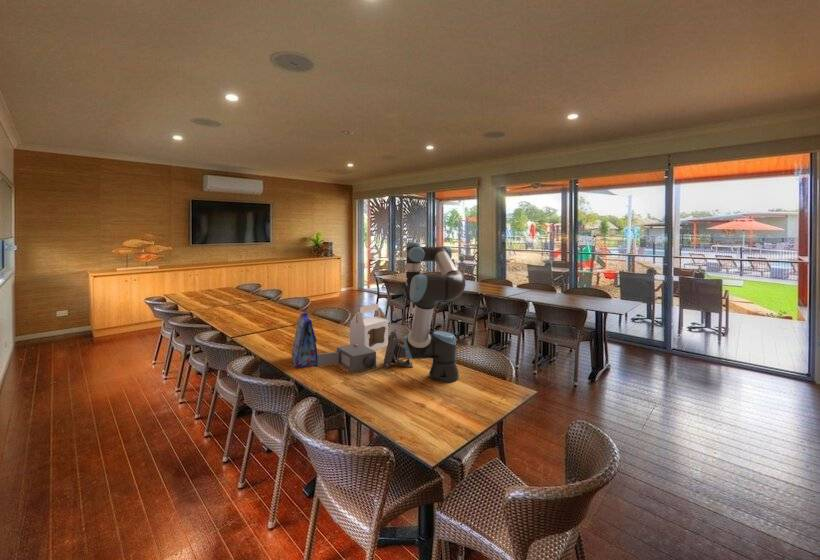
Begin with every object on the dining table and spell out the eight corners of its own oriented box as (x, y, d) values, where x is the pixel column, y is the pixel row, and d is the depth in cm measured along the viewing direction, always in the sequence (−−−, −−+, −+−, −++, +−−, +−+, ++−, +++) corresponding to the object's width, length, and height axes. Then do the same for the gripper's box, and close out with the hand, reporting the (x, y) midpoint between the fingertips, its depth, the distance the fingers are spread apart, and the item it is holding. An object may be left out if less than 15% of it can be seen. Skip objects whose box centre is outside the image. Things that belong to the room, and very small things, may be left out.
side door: (318, 366, 210) (317, 354, 209) (317, 365, 212) (316, 353, 211) (340, 363, 216) (340, 351, 215) (339, 362, 217) (339, 350, 217)
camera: (410, 375, 212) (420, 340, 210) (381, 367, 211) (390, 332, 209) (410, 368, 223) (419, 335, 221) (382, 360, 222) (391, 327, 220)
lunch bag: (319, 366, 215) (318, 315, 211) (294, 369, 210) (292, 316, 206) (314, 354, 235) (313, 307, 231) (291, 357, 230) (289, 309, 226)
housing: (378, 368, 211) (377, 351, 210) (354, 373, 203) (354, 355, 202) (359, 358, 229) (358, 341, 228) (336, 362, 221) (336, 345, 220)
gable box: (373, 342, 262) (373, 301, 259) (388, 345, 254) (388, 303, 251) (349, 349, 245) (349, 306, 242) (364, 353, 237) (364, 308, 234)
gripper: (426, 271, 210) (426, 314, 213) (409, 269, 219) (409, 310, 222) (416, 272, 205) (416, 316, 207) (399, 270, 214) (399, 312, 216)
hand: (412, 313), depth 215 cm, fingers closed
